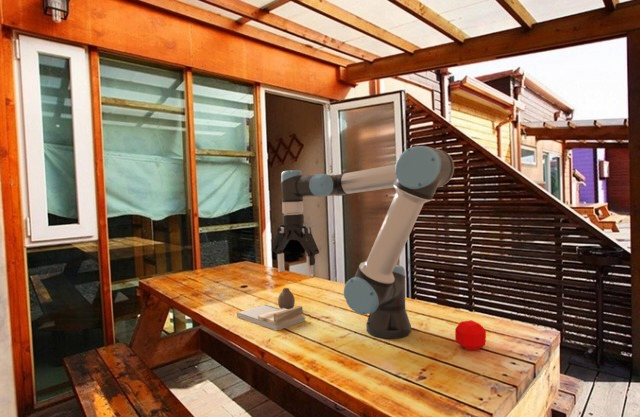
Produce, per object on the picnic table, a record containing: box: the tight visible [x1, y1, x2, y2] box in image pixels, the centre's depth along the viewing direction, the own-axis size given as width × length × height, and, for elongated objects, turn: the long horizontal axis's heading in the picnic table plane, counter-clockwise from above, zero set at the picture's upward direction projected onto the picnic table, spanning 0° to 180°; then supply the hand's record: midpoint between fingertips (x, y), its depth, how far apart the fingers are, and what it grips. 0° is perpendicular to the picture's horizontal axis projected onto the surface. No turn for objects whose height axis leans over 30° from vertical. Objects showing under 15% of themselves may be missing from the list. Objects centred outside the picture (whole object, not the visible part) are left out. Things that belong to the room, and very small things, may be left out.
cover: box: [258, 305, 304, 325], centre depth 147 cm, size 11×13×4 cm
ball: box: [454, 320, 487, 351], centre depth 120 cm, size 8×8×8 cm
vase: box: [277, 287, 296, 309], centre depth 163 cm, size 7×7×9 cm
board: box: [236, 304, 306, 332], centre depth 152 cm, size 24×14×2 cm, turn 46°
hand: (295, 272), depth 142 cm, fingers open, 13 cm apart
